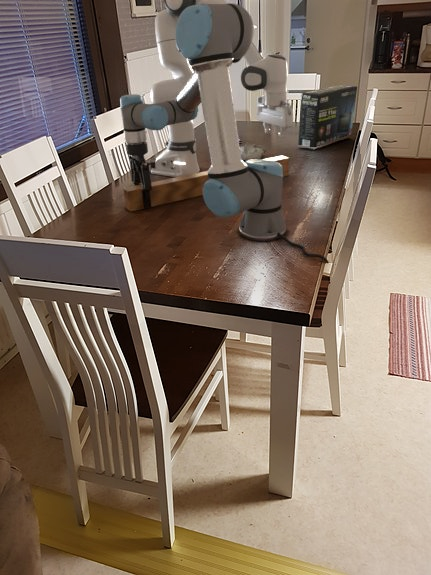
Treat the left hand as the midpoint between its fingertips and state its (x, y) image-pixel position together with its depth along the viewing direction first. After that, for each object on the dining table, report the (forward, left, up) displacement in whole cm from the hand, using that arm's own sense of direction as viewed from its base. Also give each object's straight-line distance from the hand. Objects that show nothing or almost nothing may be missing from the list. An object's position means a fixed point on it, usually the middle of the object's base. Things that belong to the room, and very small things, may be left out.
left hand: (274, 135), depth 190 cm
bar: (-20, -22, -18) cm, 35 cm away
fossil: (-18, +26, -18) cm, 37 cm away
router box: (+15, +62, -18) cm, 66 cm away
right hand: (-40, -45, -17) cm, 62 cm away
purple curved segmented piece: (-36, +60, -18) cm, 72 cm away
